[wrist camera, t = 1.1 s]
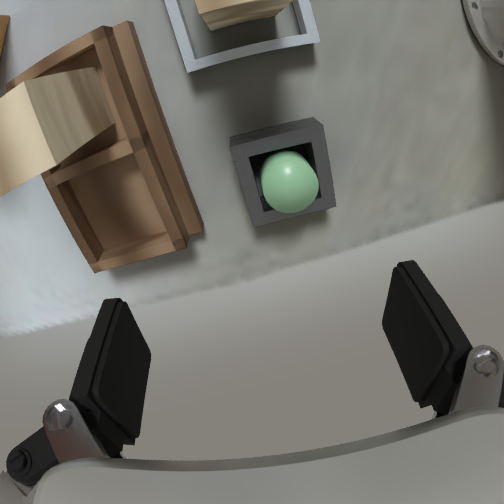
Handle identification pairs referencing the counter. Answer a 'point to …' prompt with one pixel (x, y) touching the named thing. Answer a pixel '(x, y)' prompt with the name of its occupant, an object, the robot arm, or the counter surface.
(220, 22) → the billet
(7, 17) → the small box
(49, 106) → the block
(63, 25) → the counter surface
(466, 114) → the counter surface
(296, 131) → the switch box
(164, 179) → the brown wooden tray
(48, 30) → the counter surface
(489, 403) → the robot arm
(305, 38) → the grey square frame
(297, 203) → the button
